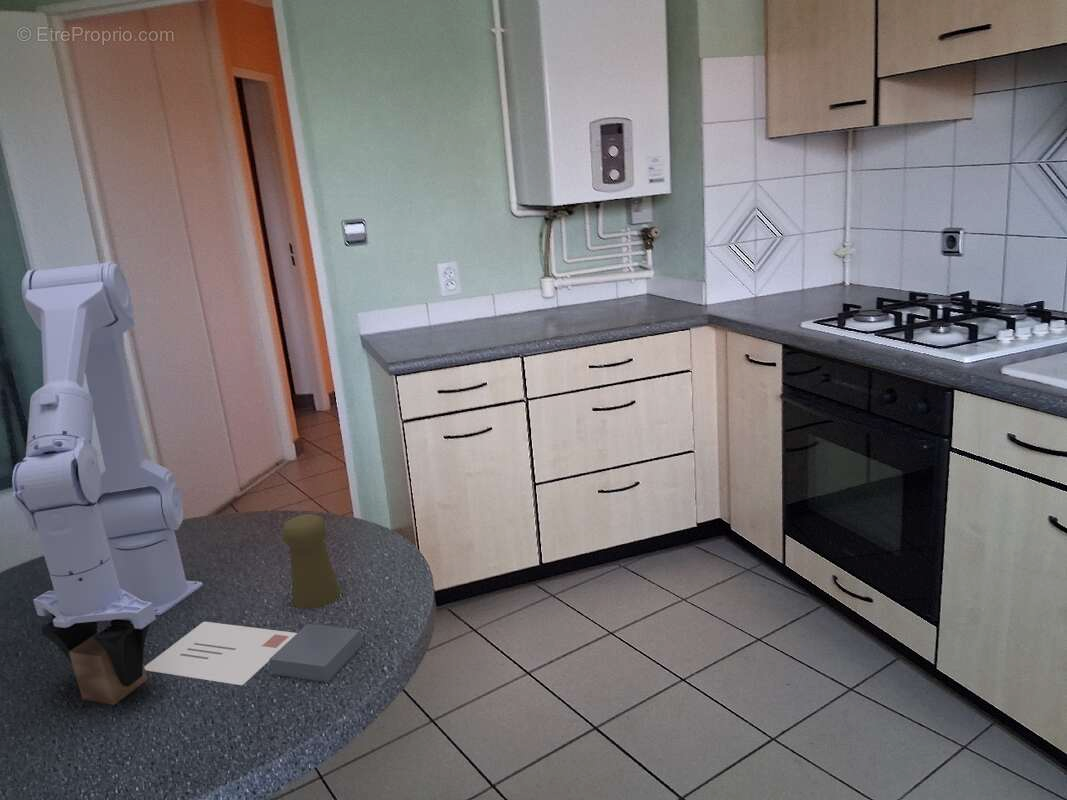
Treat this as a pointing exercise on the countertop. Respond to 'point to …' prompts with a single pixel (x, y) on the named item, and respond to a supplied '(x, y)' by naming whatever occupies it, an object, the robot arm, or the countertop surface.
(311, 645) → the metal block
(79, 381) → the robot arm
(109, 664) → the walnut block
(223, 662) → the letter
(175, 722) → the countertop surface
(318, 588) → the cork
